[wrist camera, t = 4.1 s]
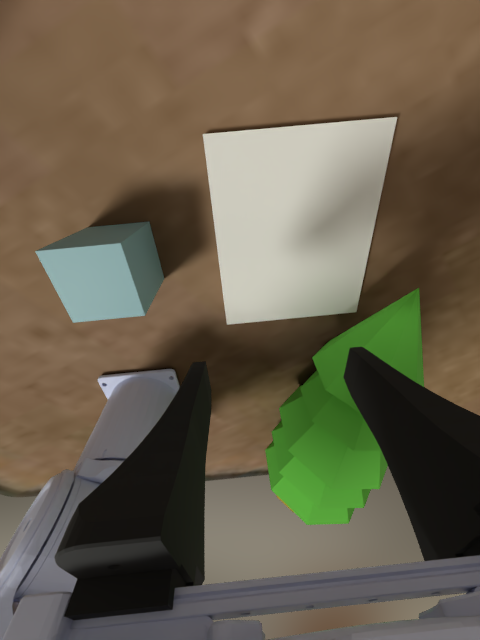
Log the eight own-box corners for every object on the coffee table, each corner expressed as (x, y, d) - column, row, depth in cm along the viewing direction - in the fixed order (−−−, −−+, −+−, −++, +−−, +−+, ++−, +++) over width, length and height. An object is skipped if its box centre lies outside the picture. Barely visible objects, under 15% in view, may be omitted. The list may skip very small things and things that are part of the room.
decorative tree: (286, 573, 26) (479, 372, 9) (240, 465, 34) (293, 256, 17) (361, 519, 30) (576, 323, 14) (304, 436, 39) (395, 251, 22)
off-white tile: (353, 308, 23) (356, 312, 22) (226, 321, 23) (226, 324, 22) (391, 118, 15) (397, 116, 15) (203, 135, 15) (202, 134, 15)
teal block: (164, 278, 20) (145, 315, 15) (110, 283, 20) (73, 322, 15) (149, 221, 18) (120, 243, 13) (88, 227, 18) (35, 251, 13)
